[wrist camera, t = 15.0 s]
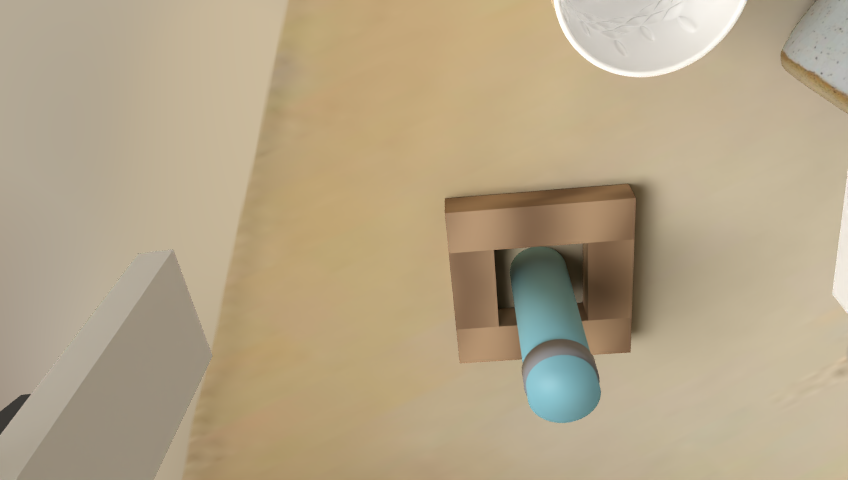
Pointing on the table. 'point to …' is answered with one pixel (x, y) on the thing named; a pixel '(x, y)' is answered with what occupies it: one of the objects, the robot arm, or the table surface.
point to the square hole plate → (533, 227)
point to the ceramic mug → (821, 51)
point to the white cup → (646, 32)
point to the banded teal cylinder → (552, 338)
